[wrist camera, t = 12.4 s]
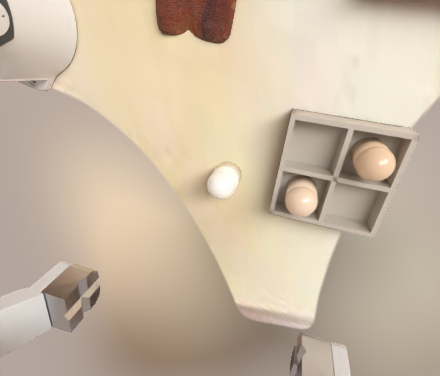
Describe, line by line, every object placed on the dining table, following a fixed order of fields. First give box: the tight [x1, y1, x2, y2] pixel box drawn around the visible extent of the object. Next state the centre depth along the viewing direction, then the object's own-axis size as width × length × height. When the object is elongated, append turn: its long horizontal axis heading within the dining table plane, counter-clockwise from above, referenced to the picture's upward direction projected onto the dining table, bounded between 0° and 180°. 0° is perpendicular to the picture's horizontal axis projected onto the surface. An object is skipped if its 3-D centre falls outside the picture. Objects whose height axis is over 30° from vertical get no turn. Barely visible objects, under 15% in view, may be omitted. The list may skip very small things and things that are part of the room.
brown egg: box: [350, 137, 396, 182], centre depth 32 cm, size 4×4×6 cm
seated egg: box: [285, 175, 318, 217], centre depth 36 cm, size 4×4×6 cm
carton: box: [269, 109, 420, 238], centre depth 36 cm, size 14×14×4 cm
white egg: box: [207, 162, 241, 199], centre depth 39 cm, size 4×4×6 cm
